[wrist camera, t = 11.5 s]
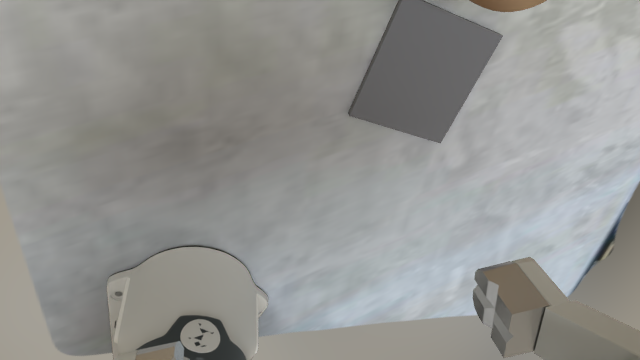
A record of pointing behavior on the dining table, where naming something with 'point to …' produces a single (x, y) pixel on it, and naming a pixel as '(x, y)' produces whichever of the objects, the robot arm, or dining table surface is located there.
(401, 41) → the mat
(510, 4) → the lid
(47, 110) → the dining table surface
